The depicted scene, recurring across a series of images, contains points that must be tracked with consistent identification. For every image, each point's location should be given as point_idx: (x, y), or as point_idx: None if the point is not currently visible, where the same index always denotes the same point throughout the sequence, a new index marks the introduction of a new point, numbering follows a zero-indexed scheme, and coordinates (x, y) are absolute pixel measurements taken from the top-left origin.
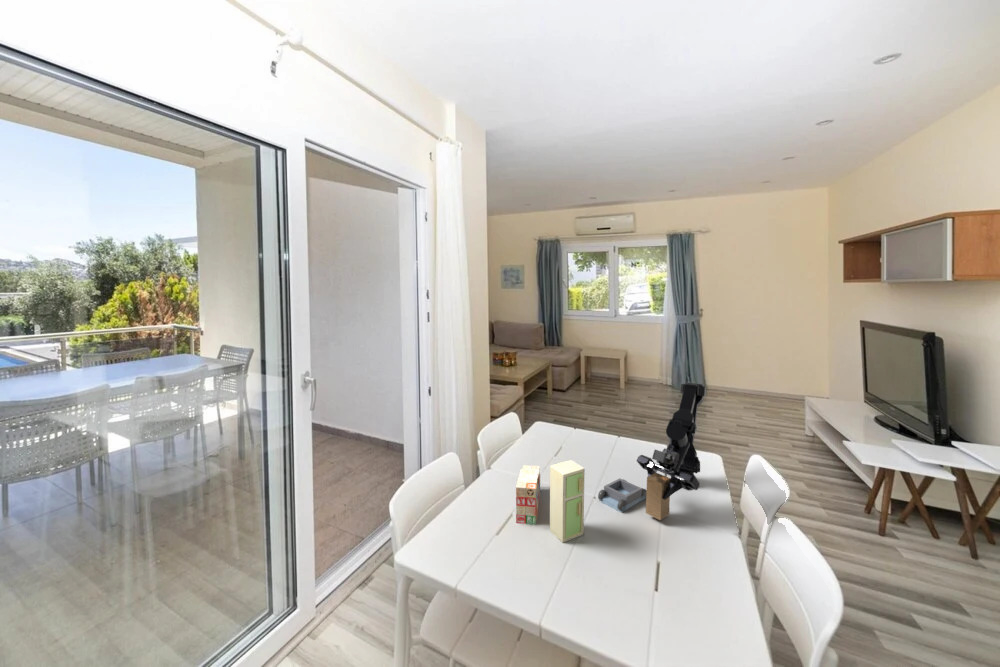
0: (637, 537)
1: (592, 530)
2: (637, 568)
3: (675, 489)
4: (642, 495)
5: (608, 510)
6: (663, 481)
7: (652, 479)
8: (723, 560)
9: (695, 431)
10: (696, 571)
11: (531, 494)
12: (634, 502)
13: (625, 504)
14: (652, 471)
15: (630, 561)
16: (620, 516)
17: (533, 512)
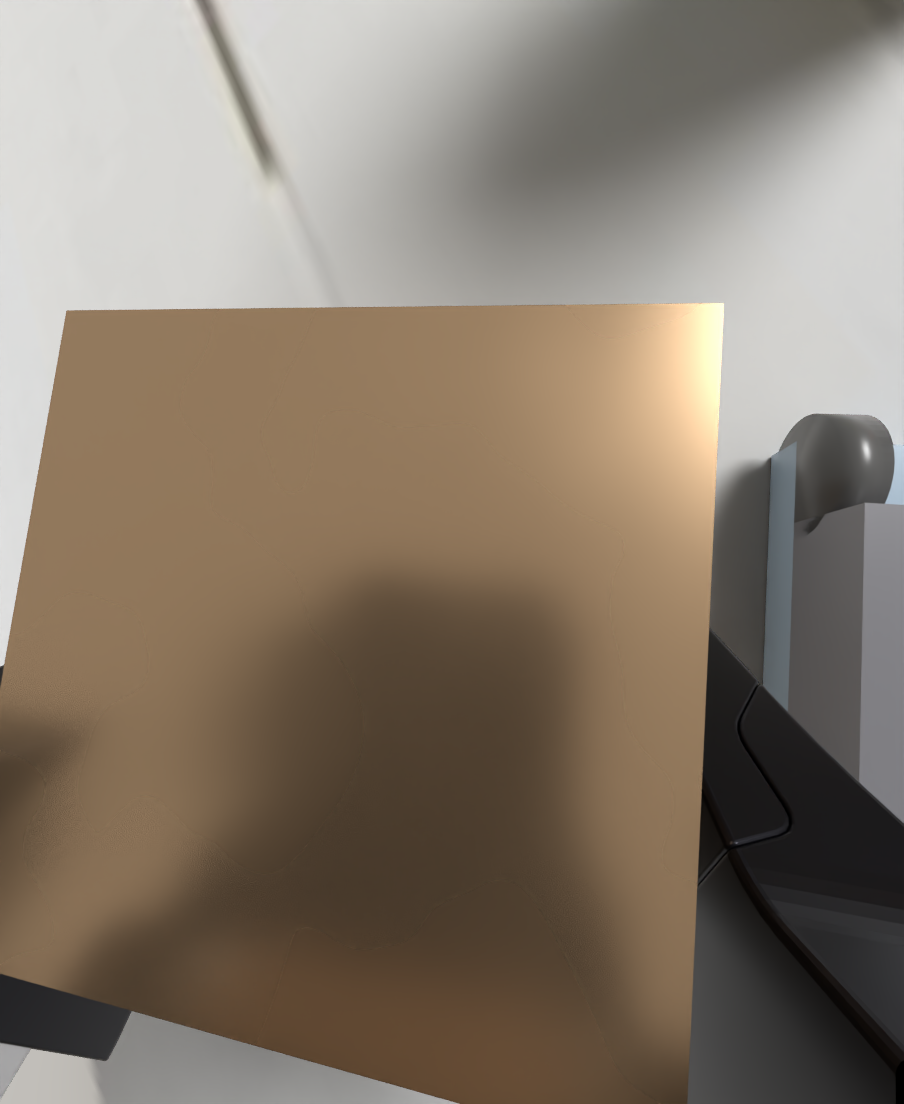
0: (478, 267)
1: (780, 57)
2: (333, 26)
3: None
4: None
5: (888, 394)
6: (72, 495)
7: (441, 310)
8: (12, 484)
9: None
10: (95, 273)
11: None
12: (778, 682)
13: (805, 505)
14: (865, 1084)
15: (390, 37)
16: (739, 398)
17: None
